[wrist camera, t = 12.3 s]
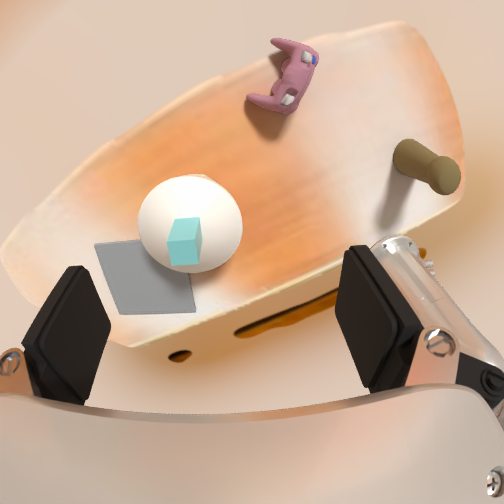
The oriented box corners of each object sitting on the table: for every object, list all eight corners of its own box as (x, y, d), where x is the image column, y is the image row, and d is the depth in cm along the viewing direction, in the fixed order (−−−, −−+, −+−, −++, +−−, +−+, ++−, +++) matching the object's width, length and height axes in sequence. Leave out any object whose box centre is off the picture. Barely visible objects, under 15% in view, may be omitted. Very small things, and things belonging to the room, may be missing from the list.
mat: (181, 236, 42) (181, 237, 42) (196, 309, 50) (195, 311, 50) (95, 243, 42) (94, 245, 41) (120, 312, 50) (119, 314, 49)
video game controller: (269, 110, 35) (300, 123, 31) (241, 100, 32) (271, 111, 28) (295, 48, 31) (332, 53, 26) (269, 34, 28) (304, 35, 23)
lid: (239, 170, 32) (241, 188, 26) (244, 265, 39) (247, 296, 33) (130, 181, 31) (111, 201, 26) (151, 271, 38) (140, 302, 33)
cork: (396, 135, 36) (441, 153, 27) (425, 142, 37) (471, 162, 27) (389, 172, 39) (430, 199, 30) (418, 177, 40) (460, 204, 30)
